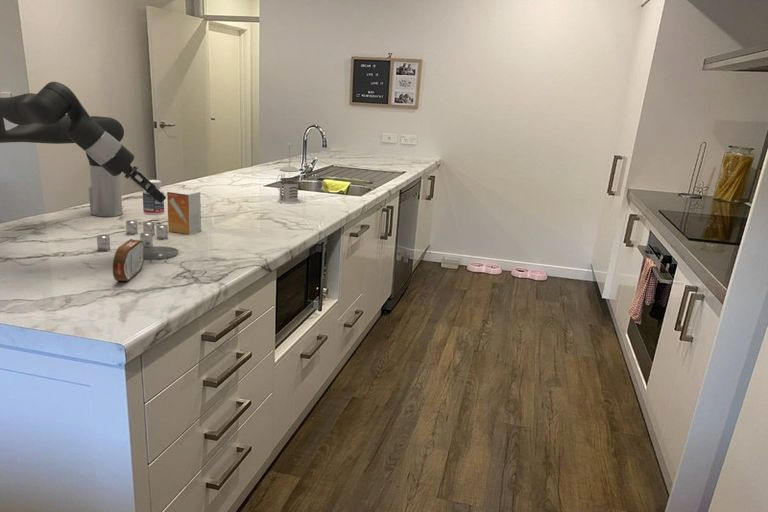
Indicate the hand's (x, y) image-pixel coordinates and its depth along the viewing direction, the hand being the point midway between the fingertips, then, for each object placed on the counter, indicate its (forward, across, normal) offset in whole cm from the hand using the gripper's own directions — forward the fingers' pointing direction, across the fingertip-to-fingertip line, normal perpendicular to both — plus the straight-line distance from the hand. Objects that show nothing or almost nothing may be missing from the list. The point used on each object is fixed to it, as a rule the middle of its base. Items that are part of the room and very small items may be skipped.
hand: (160, 197), depth 151 cm
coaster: (+10, 0, -12) cm, 16 cm away
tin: (+3, +16, -19) cm, 26 cm away
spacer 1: (+9, -24, -14) cm, 29 cm away
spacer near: (+2, -9, -21) cm, 23 cm away
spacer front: (+14, -16, -9) cm, 23 cm away
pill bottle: (+2, 0, -4) cm, 5 cm away
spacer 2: (+9, -8, -13) cm, 18 cm away
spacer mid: (+12, -21, -10) cm, 26 cm away
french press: (+57, -58, +34) cm, 88 cm away
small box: (+20, -22, -3) cm, 30 cm away
